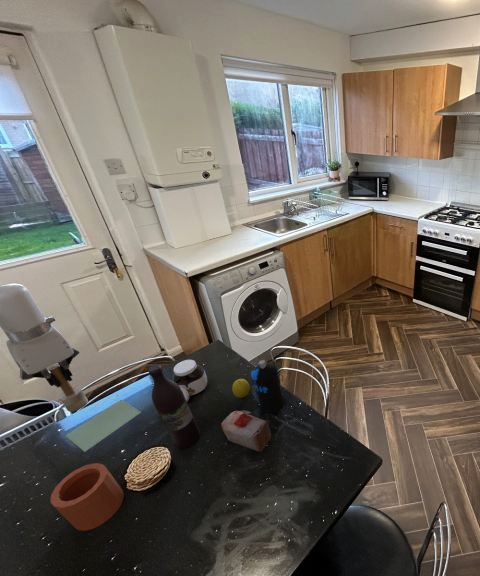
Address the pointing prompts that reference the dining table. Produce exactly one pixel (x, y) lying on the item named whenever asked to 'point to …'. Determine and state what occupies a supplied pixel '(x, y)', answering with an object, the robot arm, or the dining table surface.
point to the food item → (246, 430)
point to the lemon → (241, 388)
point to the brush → (69, 391)
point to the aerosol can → (268, 387)
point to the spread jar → (190, 378)
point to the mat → (102, 425)
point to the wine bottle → (173, 409)
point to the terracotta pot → (88, 496)
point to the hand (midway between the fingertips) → (62, 381)
